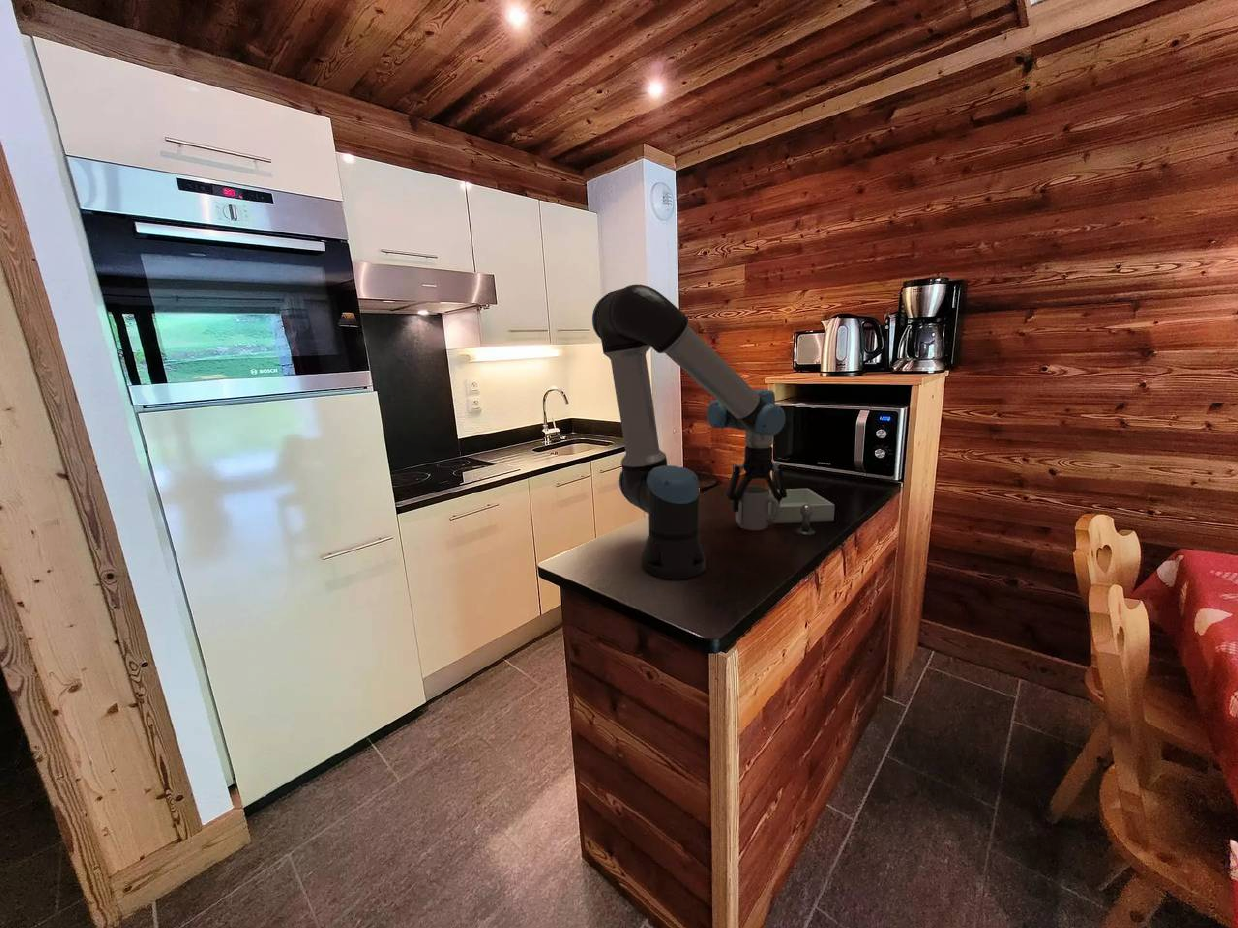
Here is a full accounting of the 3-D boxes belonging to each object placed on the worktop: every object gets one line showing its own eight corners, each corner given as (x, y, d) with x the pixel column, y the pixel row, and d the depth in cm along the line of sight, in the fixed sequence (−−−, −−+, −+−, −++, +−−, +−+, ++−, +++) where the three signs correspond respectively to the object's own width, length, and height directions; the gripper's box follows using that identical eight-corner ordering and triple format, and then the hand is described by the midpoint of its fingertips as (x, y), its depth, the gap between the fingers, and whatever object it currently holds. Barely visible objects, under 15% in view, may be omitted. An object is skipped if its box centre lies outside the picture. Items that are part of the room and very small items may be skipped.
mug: (732, 526, 140) (733, 490, 137) (745, 518, 146) (746, 483, 144) (772, 535, 132) (774, 497, 130) (784, 526, 139) (785, 490, 136)
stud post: (800, 535, 131) (801, 507, 130) (792, 529, 136) (794, 502, 134) (818, 535, 131) (819, 506, 130) (810, 528, 136) (811, 501, 135)
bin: (773, 523, 141) (774, 507, 140) (754, 505, 159) (754, 490, 158) (833, 520, 142) (834, 504, 141) (807, 502, 160) (808, 488, 159)
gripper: (723, 449, 130) (721, 527, 135) (803, 446, 131) (798, 524, 136) (716, 444, 137) (714, 518, 142) (792, 442, 138) (788, 515, 143)
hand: (755, 521), depth 139 cm, fingers closed on mug, 9 cm apart
